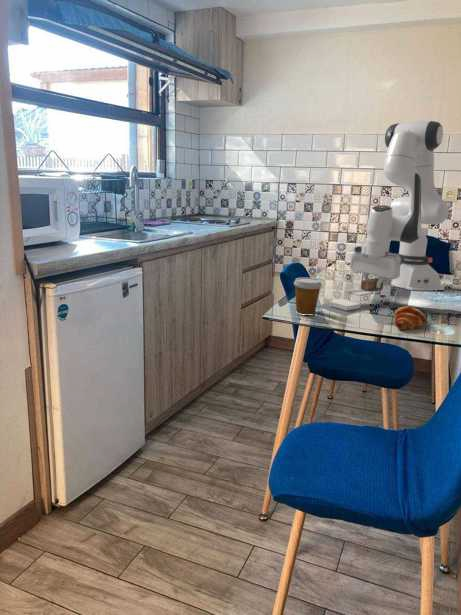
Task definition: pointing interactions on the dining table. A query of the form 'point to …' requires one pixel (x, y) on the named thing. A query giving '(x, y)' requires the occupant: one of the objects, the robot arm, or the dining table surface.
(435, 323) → the dining table surface
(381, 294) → the dining table surface
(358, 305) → the tile
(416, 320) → the croissant
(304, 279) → the disposable coffee cup
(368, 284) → the wooden handled scraper
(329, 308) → the slate board
